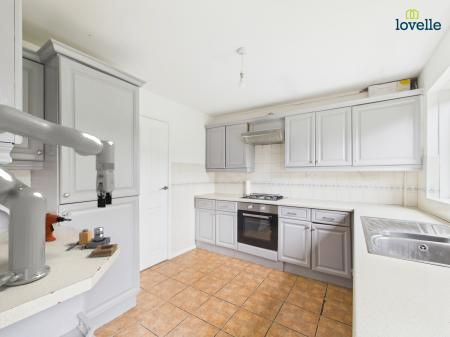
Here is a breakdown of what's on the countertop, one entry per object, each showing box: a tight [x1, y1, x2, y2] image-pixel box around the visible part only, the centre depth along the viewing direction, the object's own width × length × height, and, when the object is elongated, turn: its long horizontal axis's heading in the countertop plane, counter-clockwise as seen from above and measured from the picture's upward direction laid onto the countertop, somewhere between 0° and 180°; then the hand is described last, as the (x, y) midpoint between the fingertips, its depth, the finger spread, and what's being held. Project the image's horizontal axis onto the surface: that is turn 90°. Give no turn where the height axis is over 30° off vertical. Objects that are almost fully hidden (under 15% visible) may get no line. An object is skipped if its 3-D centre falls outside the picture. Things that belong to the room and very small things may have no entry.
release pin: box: [78, 228, 92, 246], centre depth 107 cm, size 4×4×7 cm
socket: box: [85, 236, 111, 250], centre depth 104 cm, size 8×8×3 cm
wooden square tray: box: [91, 243, 118, 258], centre depth 95 cm, size 8×8×2 cm
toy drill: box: [45, 212, 72, 243], centre depth 109 cm, size 5×19×15 cm, turn 78°
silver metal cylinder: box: [93, 226, 104, 242], centre depth 104 cm, size 4×4×8 cm
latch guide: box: [67, 237, 94, 252], centre depth 104 cm, size 13×7×1 cm, turn 10°
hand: (104, 205), depth 95 cm, fingers open, 7 cm apart
